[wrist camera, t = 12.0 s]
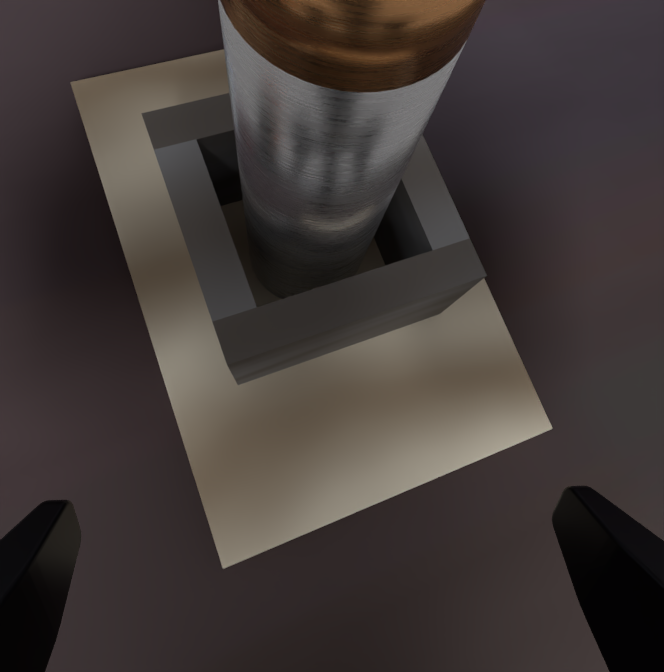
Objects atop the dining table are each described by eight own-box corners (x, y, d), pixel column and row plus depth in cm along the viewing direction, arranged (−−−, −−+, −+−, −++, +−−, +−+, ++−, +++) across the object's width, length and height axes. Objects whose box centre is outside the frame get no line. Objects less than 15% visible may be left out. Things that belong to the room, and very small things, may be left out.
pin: (381, 260, 18) (588, -95, 6) (298, 327, 17) (355, 56, 5) (311, 181, 18) (380, -294, 6) (226, 242, 17) (128, -186, 6)
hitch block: (537, 429, 18) (634, 422, 13) (226, 561, 16) (205, 611, 11) (361, 38, 21) (388, -84, 16) (80, 101, 19) (14, -19, 14)
